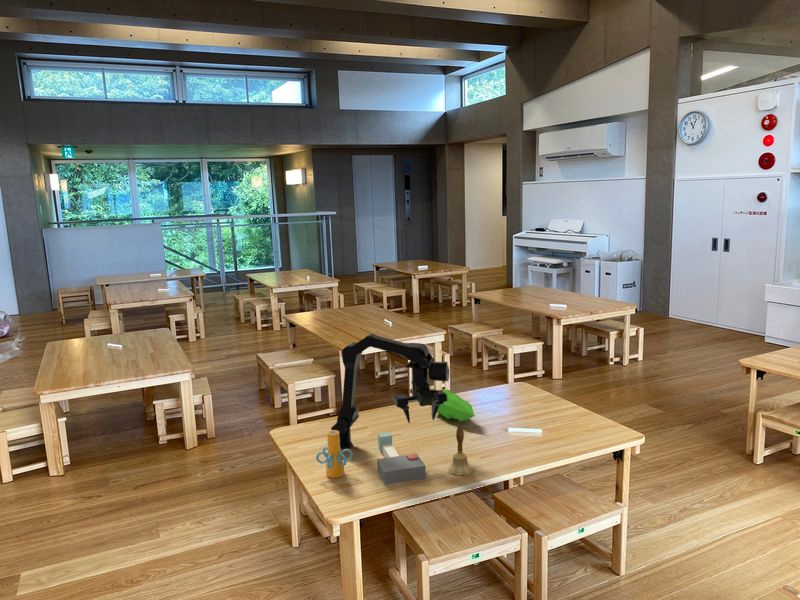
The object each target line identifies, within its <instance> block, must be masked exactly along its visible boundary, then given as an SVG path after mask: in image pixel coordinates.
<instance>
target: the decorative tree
mask: <svg viewBox="0 0 800 600" xmlns="http://www.w3.org/2000/svg"><path fill="white" fill-rule="evenodd" d="M441 390H442V391H443V392H445V393H446V394H447V401H446V402H444V404H441V405H440V406H439V408H438V410H437V413H436V414H439V415H441V416H442V417H445V418H446V419H447V420H448V419H449V420H453V419H454V420H456V419H457V420H458V421H459V422H463V421H468V420H469V419H470V420H471V419H472V418H474V417H475V413H474V409H473V406H472V405H471V403H469V401H467V400H464V399H463V398H462V397H460V396H459V395H458V394H457V393H454V392H453V391H452V390H450V391H449V390H448V389H447V388H444V389H441Z"/></svg>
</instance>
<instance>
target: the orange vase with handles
mask: <svg viewBox="0 0 800 600" xmlns="http://www.w3.org/2000/svg"><path fill="white" fill-rule="evenodd" d="M326 433H327V434H326V436H327V437H326V438H327V446H324V447H323V448H322V451H320V452H318V453H317V454H316V457H315V459H316V461H317V463H318V464H321V465H323V464H325V472H326V473H325V474H326V476H327V477H328V478H331V479H337V478H341V477H343V476H344V474H345V466H346V465H347V462H349V461H350V460H351V459H352V458H353V451H352V450H351V449H349V448H343V449H342V448H341V447H340V438H339V431H337V430H331V429H330V430H328V431H327V432H326ZM326 451H327V452H326ZM345 452H348V453H349V457H347V458H346V456H345V455H344V453H345ZM320 455H323V456H324V458H325V460H320V459H319V457H320Z"/></svg>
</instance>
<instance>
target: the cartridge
mask: <svg viewBox="0 0 800 600" xmlns="http://www.w3.org/2000/svg"><path fill="white" fill-rule="evenodd" d="M377 437H378V438H377V440H378V441H377V443H378V450H379V452H380V453H382V454H383V456H384V458H389V457H396V456H400V455H399V453H398V452H397V450H396V449H395V446H393V435H392V434H391V432H390V431H387V432H378V433H377Z"/></svg>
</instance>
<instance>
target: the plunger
mask: <svg viewBox="0 0 800 600" xmlns="http://www.w3.org/2000/svg"><path fill="white" fill-rule="evenodd" d="M415 454H416V453H411V455H409V454H406V455H407V459H408V460H409V461H411V460H417V456H416V455H415Z"/></svg>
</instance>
